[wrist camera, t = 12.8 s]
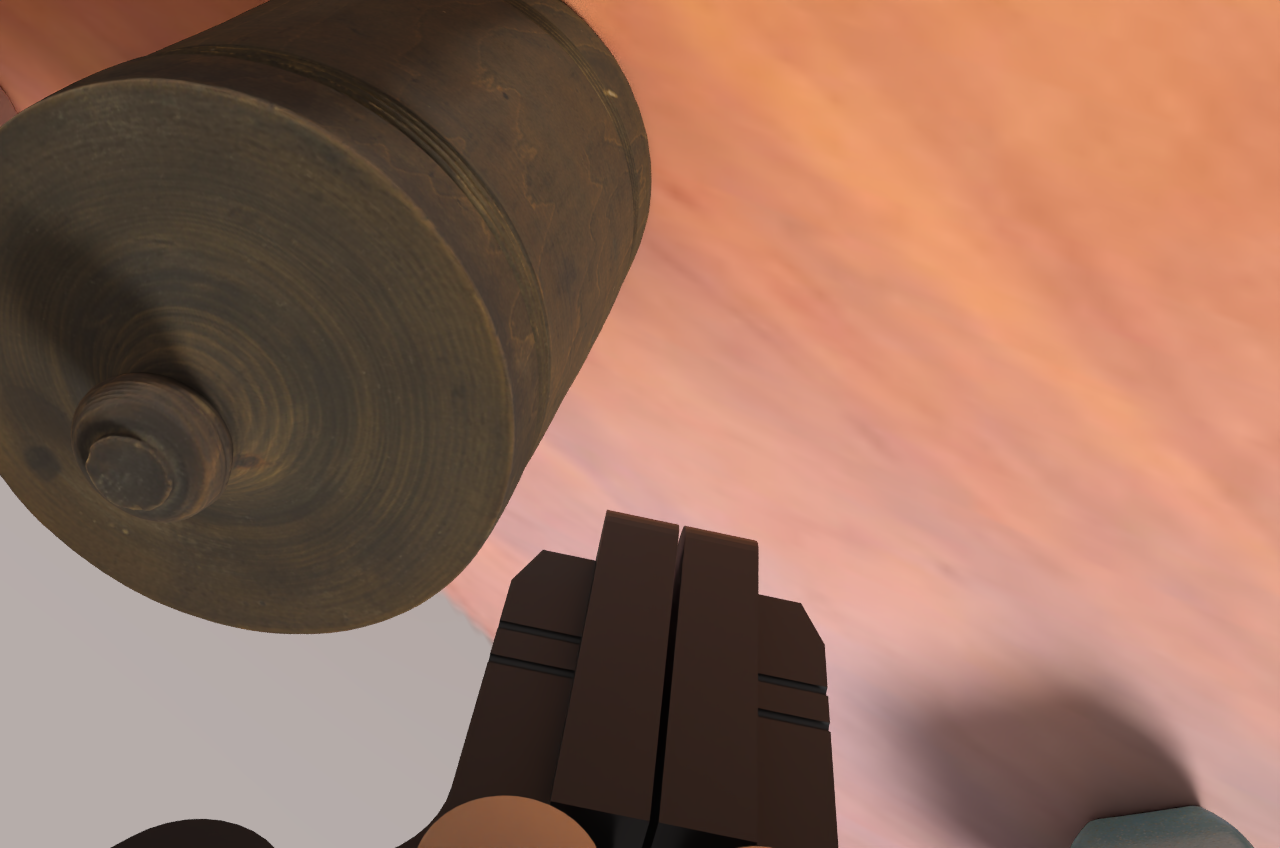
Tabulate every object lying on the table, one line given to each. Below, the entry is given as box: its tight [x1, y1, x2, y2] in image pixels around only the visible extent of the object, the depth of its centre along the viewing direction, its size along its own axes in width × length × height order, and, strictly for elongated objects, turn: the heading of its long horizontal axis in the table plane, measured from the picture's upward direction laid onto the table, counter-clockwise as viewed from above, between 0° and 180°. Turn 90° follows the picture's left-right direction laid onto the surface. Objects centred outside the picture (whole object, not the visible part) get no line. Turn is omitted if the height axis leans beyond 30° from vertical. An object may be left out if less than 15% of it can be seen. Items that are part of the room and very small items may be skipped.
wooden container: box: [0, 0, 651, 634], centre depth 33 cm, size 15×15×22 cm
